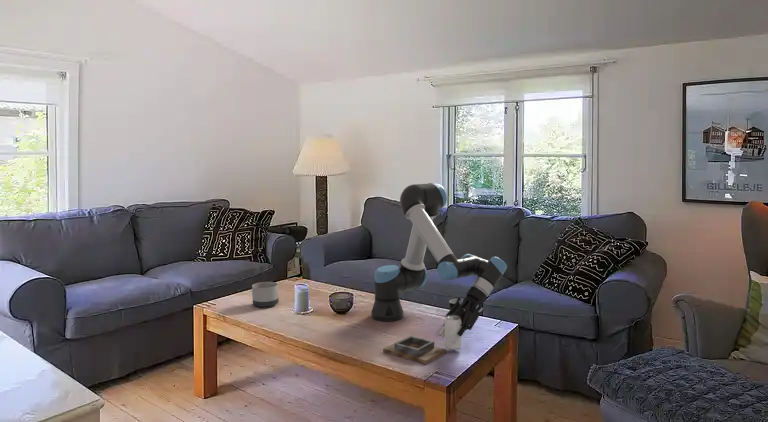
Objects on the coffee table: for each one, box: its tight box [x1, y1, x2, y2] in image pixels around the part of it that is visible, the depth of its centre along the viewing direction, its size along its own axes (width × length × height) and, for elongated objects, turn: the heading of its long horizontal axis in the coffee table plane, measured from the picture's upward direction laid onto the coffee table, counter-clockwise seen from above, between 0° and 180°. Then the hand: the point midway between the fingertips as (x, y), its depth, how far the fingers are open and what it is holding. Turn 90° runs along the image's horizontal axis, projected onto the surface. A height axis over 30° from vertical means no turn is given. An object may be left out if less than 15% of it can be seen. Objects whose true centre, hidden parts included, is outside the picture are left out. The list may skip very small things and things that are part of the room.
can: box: [444, 315, 462, 351], centre depth 214 cm, size 6×6×12 cm
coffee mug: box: [448, 298, 467, 323], centre depth 249 cm, size 12×9×10 cm
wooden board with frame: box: [382, 335, 447, 365], centre depth 213 cm, size 20×14×4 cm
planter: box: [251, 281, 280, 308], centre depth 278 cm, size 13×13×10 cm
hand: (446, 338), depth 213 cm, fingers closed on can, 6 cm apart
